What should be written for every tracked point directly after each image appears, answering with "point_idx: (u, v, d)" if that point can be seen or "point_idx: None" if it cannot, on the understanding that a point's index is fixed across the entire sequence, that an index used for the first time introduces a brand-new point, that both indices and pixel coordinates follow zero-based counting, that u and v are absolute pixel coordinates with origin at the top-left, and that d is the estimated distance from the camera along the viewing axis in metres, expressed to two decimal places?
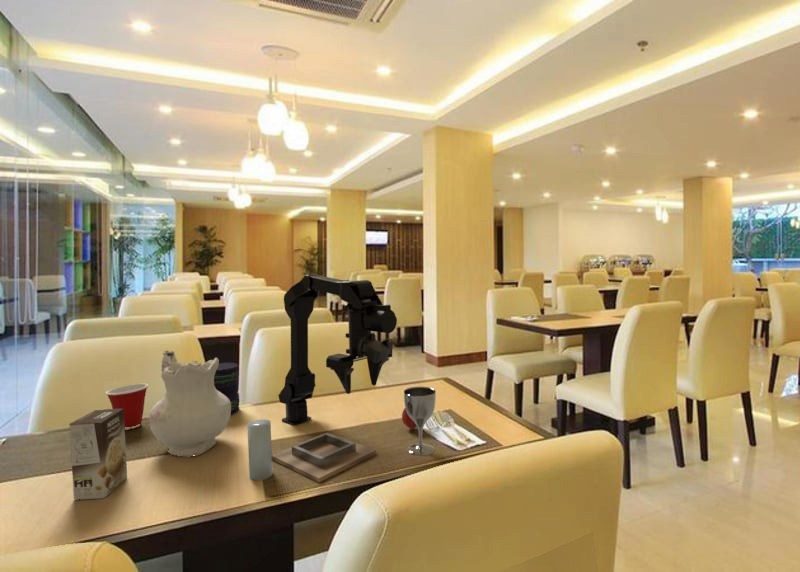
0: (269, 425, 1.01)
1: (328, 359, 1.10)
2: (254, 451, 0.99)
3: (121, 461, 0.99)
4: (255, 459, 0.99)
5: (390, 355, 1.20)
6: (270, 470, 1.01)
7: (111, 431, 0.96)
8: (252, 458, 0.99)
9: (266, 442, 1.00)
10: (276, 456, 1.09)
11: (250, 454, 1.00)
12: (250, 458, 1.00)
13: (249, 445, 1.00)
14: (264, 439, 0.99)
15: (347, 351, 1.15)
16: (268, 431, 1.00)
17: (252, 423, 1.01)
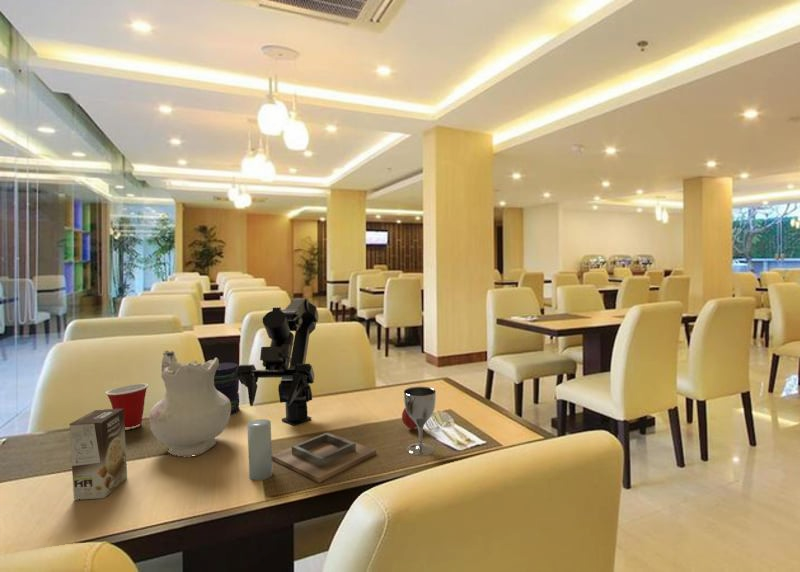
0: (269, 425, 1.01)
1: None
2: (254, 451, 0.99)
3: (121, 461, 0.99)
4: (255, 459, 0.99)
5: (305, 369, 1.12)
6: (270, 470, 1.01)
7: (111, 431, 0.96)
8: (252, 458, 0.99)
9: (266, 442, 1.00)
10: (276, 456, 1.09)
11: (250, 454, 1.00)
12: (250, 458, 1.00)
13: (249, 445, 1.00)
14: (264, 439, 0.99)
15: None
16: (268, 431, 1.00)
17: (252, 423, 1.01)
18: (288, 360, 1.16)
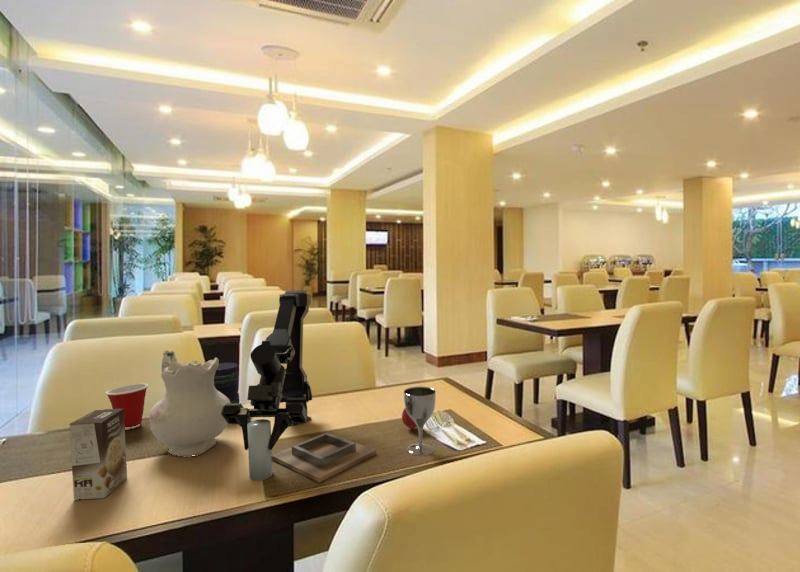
0: (269, 425, 1.01)
1: None
2: (254, 451, 0.99)
3: (121, 461, 0.99)
4: (255, 459, 0.99)
5: (296, 409, 1.03)
6: (270, 470, 1.01)
7: (111, 431, 0.96)
8: (252, 457, 0.99)
9: (266, 442, 1.00)
10: (276, 456, 1.09)
11: (250, 454, 1.00)
12: (250, 458, 1.00)
13: (249, 445, 1.00)
14: (264, 439, 0.99)
15: None
16: (268, 431, 1.00)
17: (252, 423, 1.01)
18: (279, 398, 1.08)
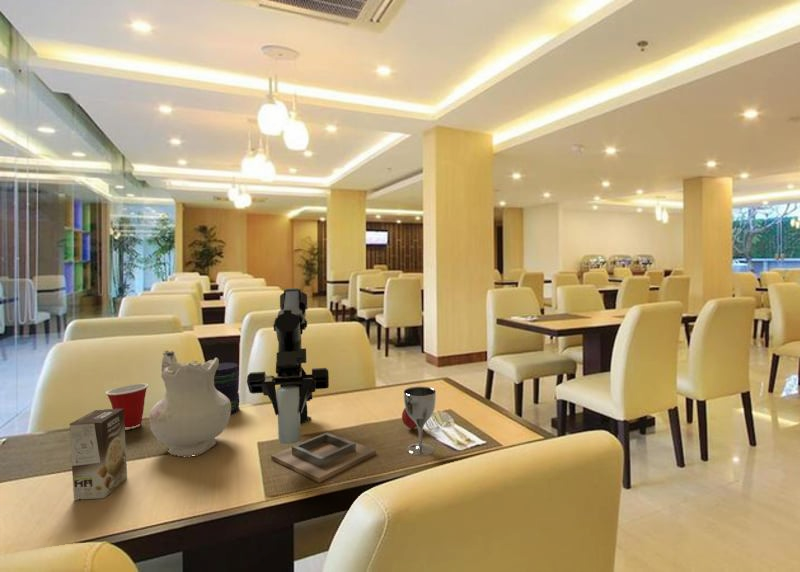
0: (298, 390, 1.04)
1: None
2: (286, 415, 1.02)
3: (121, 461, 0.99)
4: (287, 423, 1.02)
5: (323, 374, 1.07)
6: (299, 433, 1.04)
7: (111, 431, 0.96)
8: (284, 422, 1.02)
9: (297, 406, 1.03)
10: (276, 456, 1.09)
11: (281, 418, 1.02)
12: (281, 422, 1.02)
13: (280, 410, 1.02)
14: (295, 403, 1.02)
15: None
16: (298, 395, 1.03)
17: (281, 389, 1.03)
18: None
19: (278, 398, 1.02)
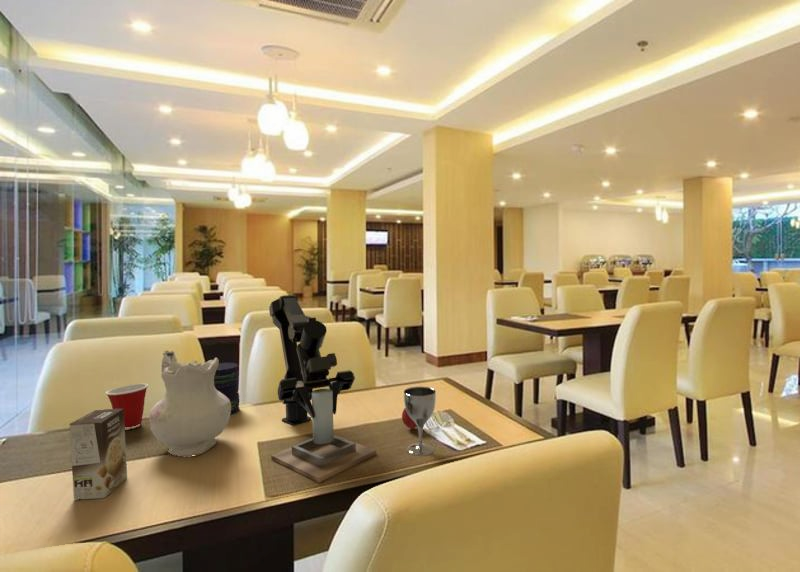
0: None
1: (278, 390, 1.11)
2: (323, 417, 1.08)
3: (121, 461, 0.99)
4: (325, 424, 1.08)
5: (350, 376, 1.15)
6: (333, 433, 1.11)
7: (111, 431, 0.96)
8: (322, 423, 1.08)
9: (332, 408, 1.09)
10: (276, 456, 1.09)
11: (319, 420, 1.08)
12: (318, 424, 1.08)
13: (317, 412, 1.08)
14: (331, 404, 1.09)
15: None
16: (332, 397, 1.10)
17: (316, 392, 1.09)
18: None
19: (315, 401, 1.08)
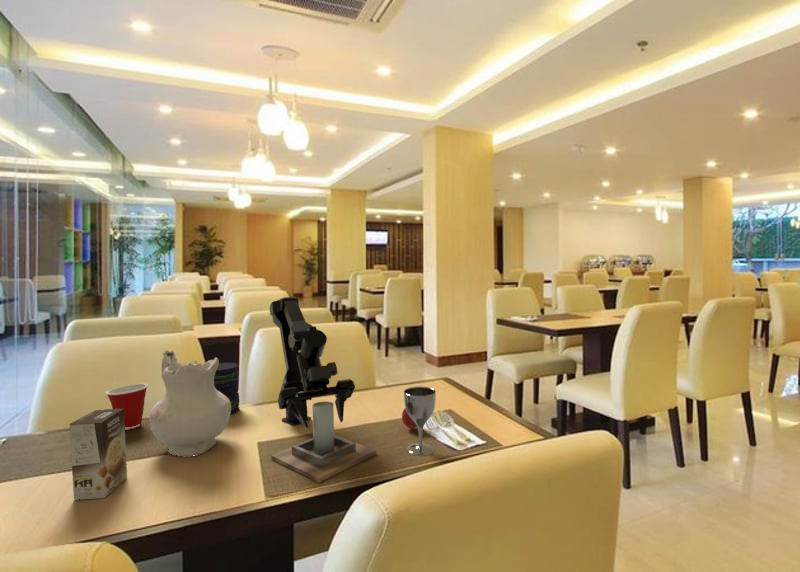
0: None
1: (278, 399, 1.11)
2: (324, 429, 1.08)
3: (121, 461, 0.99)
4: (326, 437, 1.08)
5: (350, 385, 1.15)
6: None
7: (111, 431, 0.96)
8: (322, 436, 1.08)
9: (333, 420, 1.10)
10: (276, 456, 1.09)
11: (319, 433, 1.08)
12: (319, 437, 1.08)
13: (318, 425, 1.08)
14: (332, 417, 1.09)
15: None
16: (333, 410, 1.10)
17: (317, 405, 1.09)
18: None
19: (316, 414, 1.08)
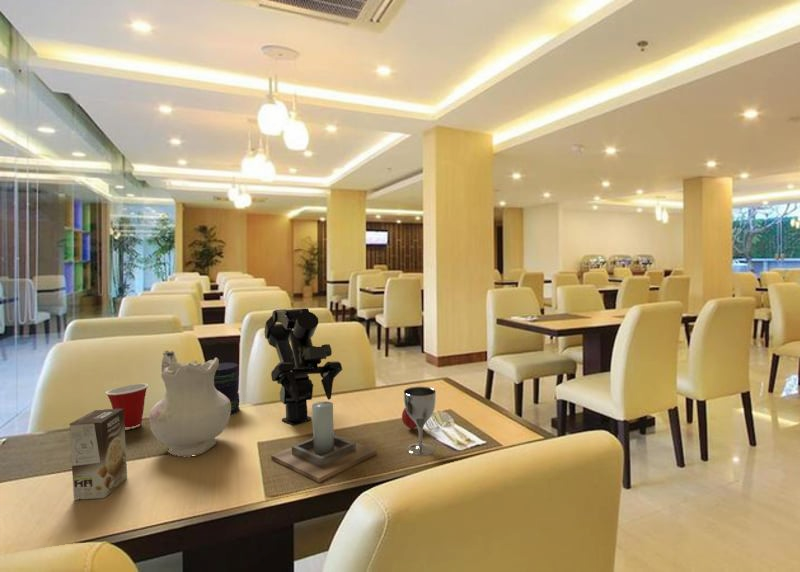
0: (332, 405, 1.11)
1: (272, 371, 1.18)
2: (324, 429, 1.08)
3: (121, 461, 0.99)
4: (325, 437, 1.08)
5: (339, 367, 1.25)
6: None
7: (111, 431, 0.96)
8: (322, 436, 1.08)
9: (332, 420, 1.10)
10: (276, 456, 1.09)
11: (319, 433, 1.08)
12: (319, 437, 1.08)
13: (318, 425, 1.08)
14: (332, 417, 1.09)
15: None
16: (332, 410, 1.10)
17: (316, 405, 1.09)
18: None
19: (316, 414, 1.08)
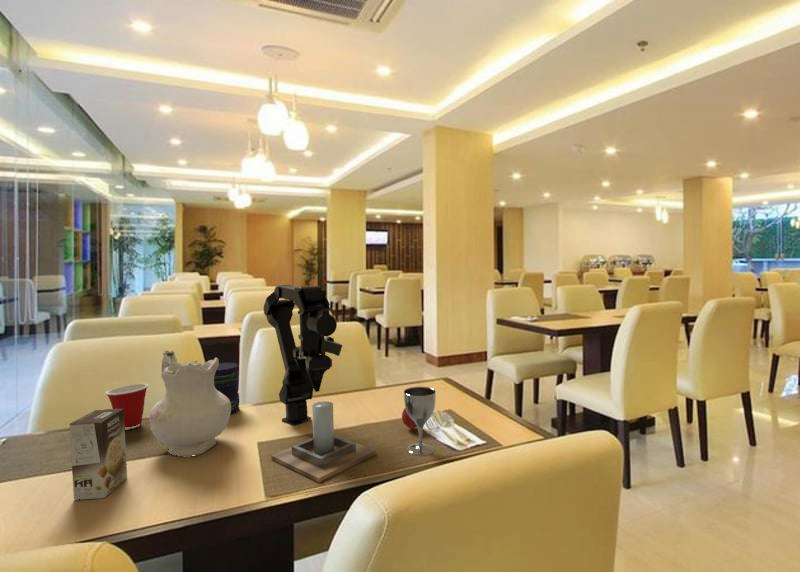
0: (332, 405, 1.11)
1: (314, 361, 1.15)
2: (324, 429, 1.08)
3: (121, 461, 0.99)
4: (325, 437, 1.08)
5: None
6: None
7: (111, 431, 0.96)
8: (322, 436, 1.08)
9: (332, 420, 1.10)
10: (276, 456, 1.09)
11: (319, 433, 1.08)
12: (319, 437, 1.08)
13: (318, 425, 1.08)
14: (332, 417, 1.09)
15: (305, 354, 1.21)
16: (332, 410, 1.10)
17: (316, 405, 1.09)
18: None
19: (316, 414, 1.08)
